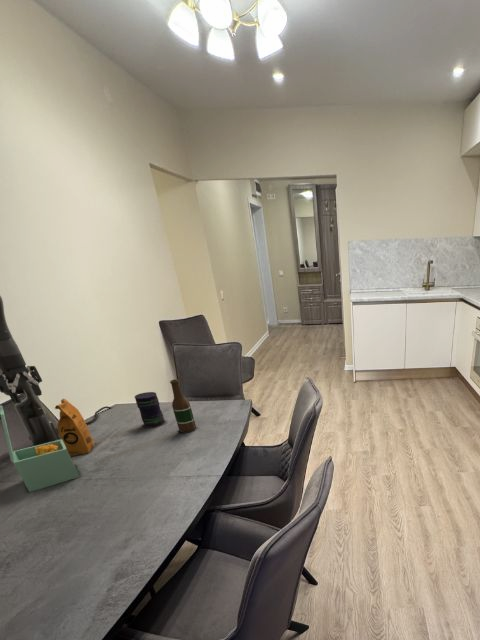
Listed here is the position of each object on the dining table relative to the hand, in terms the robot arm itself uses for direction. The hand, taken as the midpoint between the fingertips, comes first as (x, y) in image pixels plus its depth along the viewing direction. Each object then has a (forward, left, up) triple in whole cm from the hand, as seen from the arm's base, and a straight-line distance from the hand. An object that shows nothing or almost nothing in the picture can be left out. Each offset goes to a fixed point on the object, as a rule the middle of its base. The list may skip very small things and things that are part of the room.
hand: (28, 399), depth 142 cm
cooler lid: (+11, -1, -9) cm, 14 cm away
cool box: (+7, +2, -29) cm, 30 cm away
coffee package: (-18, -6, -29) cm, 35 cm away
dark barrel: (-50, +8, -29) cm, 58 cm away
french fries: (+5, +4, -28) cm, 29 cm away
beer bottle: (-44, +30, -29) cm, 60 cm away
